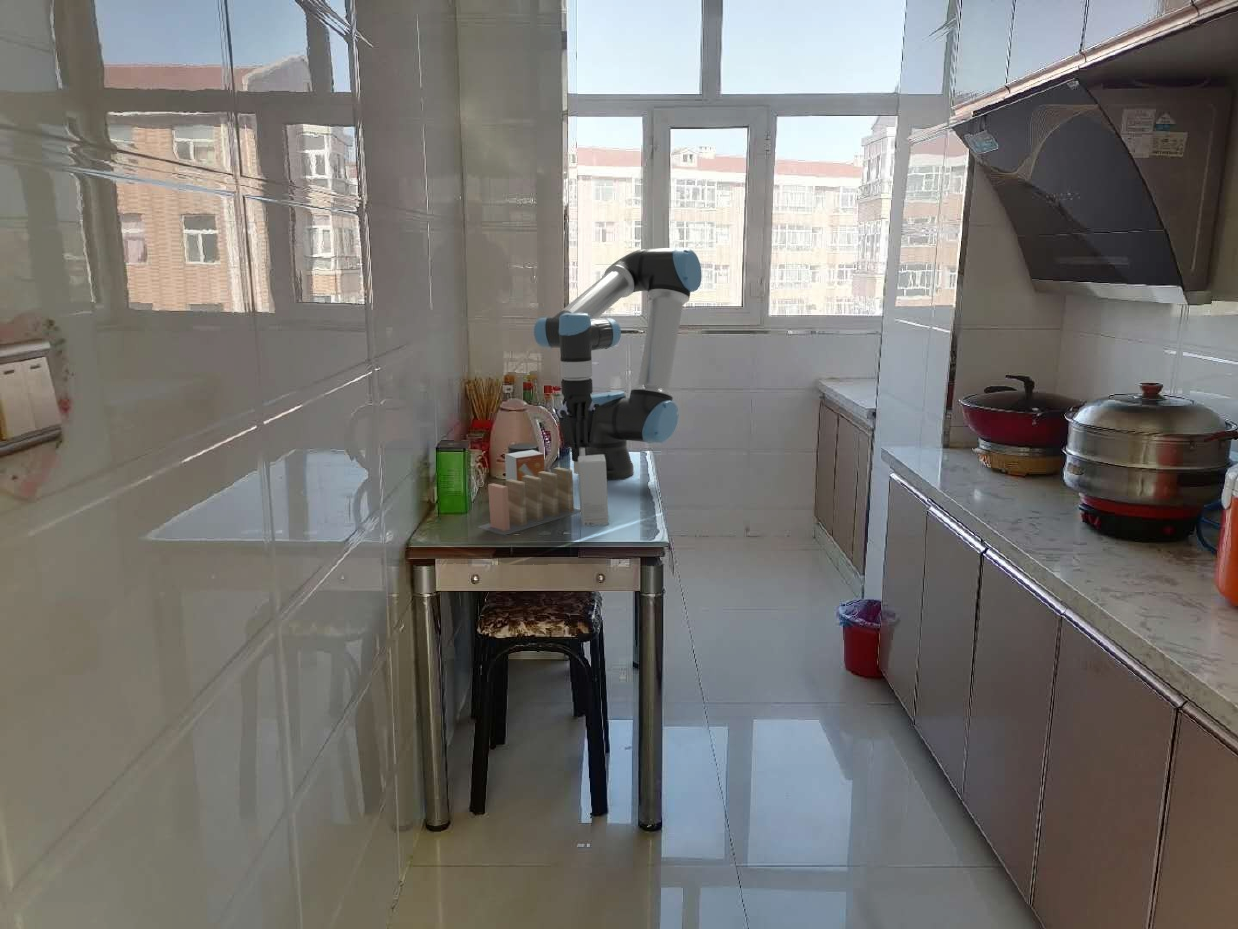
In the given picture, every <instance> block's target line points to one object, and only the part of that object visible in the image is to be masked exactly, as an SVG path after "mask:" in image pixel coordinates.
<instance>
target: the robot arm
mask: <svg viewBox="0 0 1238 929" xmlns="http://www.w3.org/2000/svg"><path fill="white" fill-rule="evenodd" d="M702 273H703V272H702V267H701V263H700V260H699V257H698V255H697V254H696V253H695V251H694V250H692V249H691V248H688V247H687V248H686V247H678V246H676V247H664V248H663V247H662V248H661V247H659V248H641V249H637V250H635V251H632V252H630V253H628V254H626V255H625V256H622V257H621V258H619V259H617V260H616V261H615V262H614V263H612V264H611V265H610V266H608V267H607V268H606V269H605V270H604V272H603V275H602V277H601V278H600V279H598V280H597V281H596V282H595V283H593V284H592V285H591V286H589V288H587V289H586V290H585V291H584V292H583V293H581V294H580V295H579V296H577V297H576V298H575V299H574V300H573V301H572V302H570V303H569V304H567V305H566V306H565V307H564V308H563V309H561V310H560V311H559V312H558V313H557V314H555V315H554V316H552V317H551V316H550V317H549V316H546V317H541V318H539V319H537V320H536V322H535V324H534V326H533V337H534V340H535V342H536V344H538V345H539V346H540V347H545V348H550V349H557V348H558V349H559V350H560V354H559V355H560V356H559V357H560V377H562V379H561V381H560V382H561V383H560V386H561V388H560V389H561V390H560V391H561V395H563V401H562V406H561V407H560V408H559V409H557V408H556V409H555V412H554V413H555V415H556V417H557V418H558V421H559V426H560V431H561V435H562V439H563V444H564V446H565V447H566V448H567V447H568V448H570V449H571V461H573V474H576V475H578V456H588V455H604V456H605V460H606V476H607V481H609V480H610V481H611V480H619V479H625V478H629V477H632V476H633V475H634V472H635V470H634V465H633V464H634V463H633V462H632V460H631V456H630V451H629V450H628V445H627V444H628V442H627V441H630V442H642V443H643V442H644V443H647V444H654V443H655V444H663V443H665V442H667V441H668V440H669V439H670V438H671V437H672V436H673V435H674V433H675V431H676V429H677V425H678V422H679V412H678V411H679V408H678V406H677V404H676V403H675V402H674V401H673V397H674V396H673V394H672V393H671V391H670V389H669V388H670V382H671V377H672V372H673V365H674V359H675V353H676V348H677V341H678V335H679V329H680V324H681V318H682V313H683V307H684V305H685V304H686V303H688V302H689V301H690V296H691V293H693V292H696V291H698V289H699V288H700V286H701V283H702V278H703V277H702ZM646 291H647V295H648V297H649V298H650V299H651V304H650V310H649V315H648V322H647V328H646V333H645V337H644V345H643V351H642V355H641V356H642V357H641V362H640V368H639V373H638V374H639V375H638V380H637V384H636V385H635V386H634V387H632V388H631V389H630V395H629V397H627V394H626V392H625V391H624V390H623V391H621V390H620V391H610V392H609V391H607V392H601V393H596V394H593V388H594V387H593V379H592V378H591V377H592V376H593V368H592V366H593V364H592V363H593V361H592V360H593V359H592V351H596V350H597V351H599V350H604V349H605V350H608V349H609V348H613V347H614V346H616V345H618V343H619V341H620V340H621V335H622V330H621V327H620V325H619V323H618V322H617V320H615V319H614V318H611V317H601V316H602V315H603V314H604V313H605V312H607V310H609V309H610V308H611V307H612V306H613V305H614V304H615V303H617V302H619V300H620V299H622V298H628V297H630V296H631V295H632V294H633V293H637V292H638V293H639V292H646ZM599 317H600V318H599ZM591 394H592V395H591Z"/></svg>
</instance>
